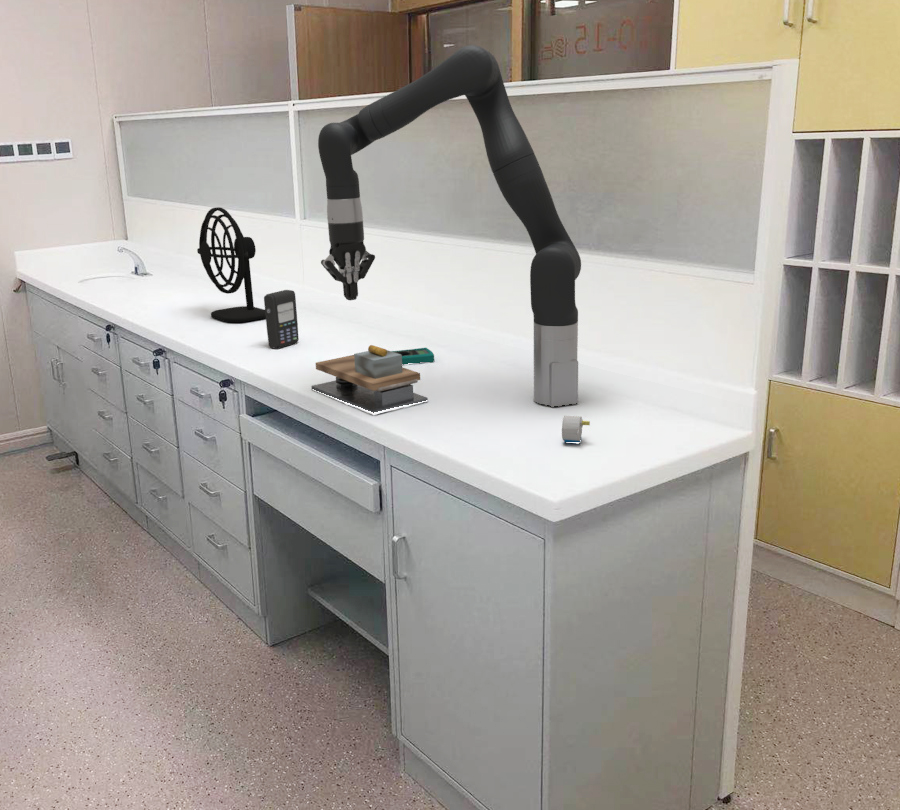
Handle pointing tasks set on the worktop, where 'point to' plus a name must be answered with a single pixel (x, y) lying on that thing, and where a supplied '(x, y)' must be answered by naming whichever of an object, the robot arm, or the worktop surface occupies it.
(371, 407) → the levelling stand
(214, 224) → the desk fan
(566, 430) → the electric motor
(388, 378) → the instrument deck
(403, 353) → the digital multimeter
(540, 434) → the worktop surface
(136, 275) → the worktop surface
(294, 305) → the card reader
